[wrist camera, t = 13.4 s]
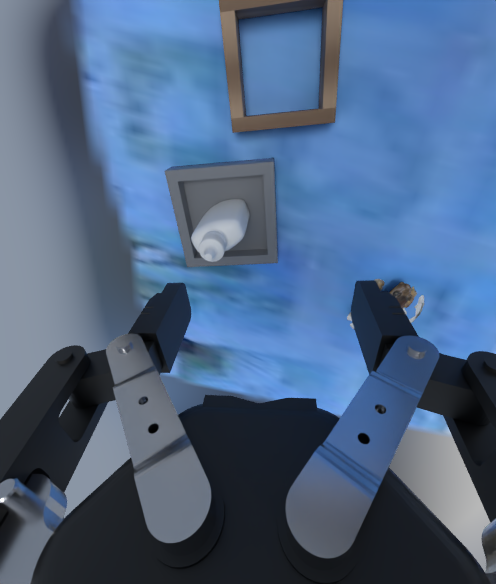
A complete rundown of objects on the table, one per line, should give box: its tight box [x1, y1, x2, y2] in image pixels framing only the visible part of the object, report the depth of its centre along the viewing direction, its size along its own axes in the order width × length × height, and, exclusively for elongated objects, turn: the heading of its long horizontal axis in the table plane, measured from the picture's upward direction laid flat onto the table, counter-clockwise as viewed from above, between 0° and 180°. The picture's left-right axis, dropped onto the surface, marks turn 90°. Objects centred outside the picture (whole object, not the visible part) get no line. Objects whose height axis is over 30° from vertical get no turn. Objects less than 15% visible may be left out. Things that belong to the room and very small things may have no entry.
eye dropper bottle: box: [191, 199, 249, 262], centre depth 30 cm, size 4×6×12 cm
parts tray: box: [165, 158, 278, 267], centre depth 35 cm, size 12×12×2 cm
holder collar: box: [219, 0, 343, 133], centre depth 26 cm, size 10×10×3 cm
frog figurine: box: [347, 279, 424, 330], centre depth 40 cm, size 12×12×4 cm
